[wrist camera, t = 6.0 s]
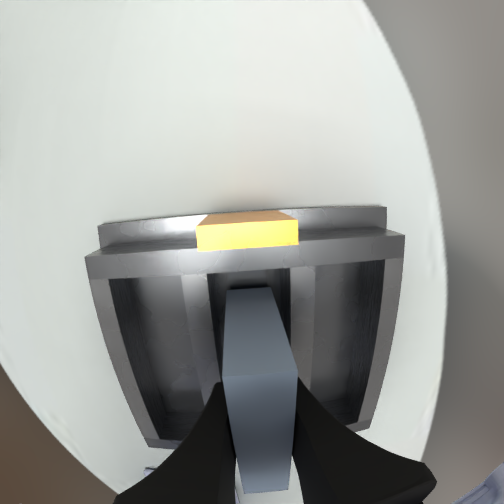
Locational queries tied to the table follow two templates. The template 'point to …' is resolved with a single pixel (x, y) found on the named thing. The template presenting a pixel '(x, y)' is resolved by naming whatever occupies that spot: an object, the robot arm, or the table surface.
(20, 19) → the table surface
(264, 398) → the panel
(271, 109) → the table surface
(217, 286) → the panel rack
